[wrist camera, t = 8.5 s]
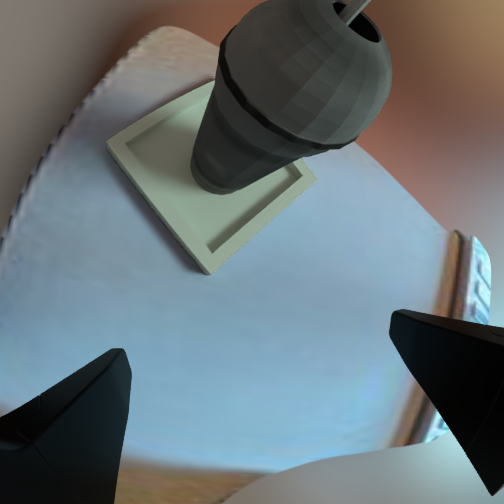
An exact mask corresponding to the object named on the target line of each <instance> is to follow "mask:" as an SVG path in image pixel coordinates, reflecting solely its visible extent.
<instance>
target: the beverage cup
mask: <svg viewBox="0 0 504 504" xmlns="http://www.w3.org/2000/svg"><path fill="white" fill-rule="evenodd" d="M370 1H371V0H351V1H350V2H349V3H348V2H346V1H344V0H268V1H265V2H263V3H261V4H259V5H258V6H256V7H254V8H253V9H251V10H250V11H249V12H248V13H247V14H246V15H245V16H244V17H243V18H242V19H241V21H240V22H239V23H238V24H237V25H235V26H234V27H233V28H232V29H231V30H230V32H229V33H228V34H227V35H226V37H225V38H224V39H223V41H222V42H221V43H220V50H219V58H218V65H217V70H216V76H215V84H214V87H213V90H212V92H211V95H210V98H209V101H208V104H207V107H206V110H205V112H204V115H203V118H202V121H201V124H200V127H199V131H198V134H197V137H196V140H195V143H194V146H193V152H192V157H191V162H190V168H191V172H192V176H193V178H194V179H195V181H196V182H197V184H198V185H199V186H201V187H202V188H203V189H204V190H206V191H208V192H210V193H212V194H217V195H227V194H232V193H234V192H235V191H237V190H241V189H243V188H245V187H247V186H248V185H250V184H252V183H254V182H256V181H258V180H260V179H261V178H263V177H265V176H267V175H269V174H271V173H273V172H275V171H277V170H278V169H280V168H282V167H284V166H286V165H288V164H290V163H292V162H294V161H296V160H298V159H300V158H302V157H310V156H313V155H316V154H320V153H323V152H326V151H328V150H330V149H340V148H342V147H344V146H346V145H348V144H350V143H352V142H353V141H355V140H356V139H357V137H358V136H359V135H360V133H361V132H362V131H364V130H365V129H366V128H367V127H368V126H369V125H370V124H371V123H372V122H373V121H374V120H375V118H376V117H377V115H378V113H379V112H380V110H381V108H382V107H383V105H384V103H385V102H386V100H387V98H388V95H389V92H390V89H391V81H392V62H391V56H390V53H389V49H388V47H387V44H386V41H385V39H384V37H383V35H382V34H381V32H380V31H379V29H378V28H377V26H376V25H375V24H374V23H373V22H372V20H371V19H370V18H369V17H368V16H367V15H366V14H365V13H363V12H362V11H361V10H362V9H363V8H364V7H365V6H366V5H367V4H368V3H369V2H370Z"/></svg>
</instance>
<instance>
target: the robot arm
mask: <svg viewBox="0 0 504 504" xmlns="http://www.w3.org/2000/svg"><path fill="white" fill-rule="evenodd" d="M389 336H390V339H391V340H392V342H393V344H394V346H395V347H396V349H397V351H398V352H399V354H400V356H401V358H402V359H403V361H404V363H405V365H406V366H407V368H408V369H409V371H410V372H411V374H412V375H413V376H414V378H415V379H416V381H417V382H418V383H419V385H420V386H421V388H422V389H423V391H424V392H425V393H426V395H427V396H428V398H429V399H430V401H431V402H432V403H433V405H434V406H435V408H436V409H437V411H438V412H439V414H440V415H441V417H442V418H443V420H444V421H445V423H446V424H447V426H448V427H449V429H450V430H451V432H452V433H453V435H454V436H455V438H456V439H457V441H458V442H459V444H460V445H461V447H462V449H463V450H464V452H466V455H467V457H468V458H469V460H470V462H471V463H472V465H473V466H474V468H475V470H476V471H477V473H478V474H479V476H480V478H481V480H482V481H483V483H484V485H485V486H486V488H487V490H488V492H489V493H490V494H491V496H494V495H495V494H496V493H497V492H498V491H499V490H500V489H502V488H503V487H504V328H502V327H496V326H490V325H484V324H479V323H473V322H468V321H463V320H457V319H452V318H447V317H442V316H436V315H431V314H426V313H421V312H416V311H411V310H406V309H400V310H396V311H394V312H393V313H392V315H391V322H390V329H389ZM131 380H132V372H131V368H130V365H129V362H128V358H127V355H126V352H125V350H124V349H122V348H113V349H110V350H109V351H107V352H106V353H104V354H102V355H101V356H99V357H98V358H96V359H95V360H93V361H91V362H90V363H88V364H87V365H85V366H84V367H82V368H81V369H79V370H77V371H76V372H74V373H73V374H71V375H70V376H68V377H66V378H65V379H63V380H62V381H60V382H59V383H57V384H56V385H54V386H52V387H51V388H49V389H48V390H46V391H45V392H43V393H41V394H40V395H38V396H37V397H35V398H33V399H32V400H30V401H29V402H27V403H25V404H24V405H22V406H20V407H19V408H17V409H15V410H13V411H11V412H9V413H8V414H6V415H4V416H2V417H0V504H114V500H115V492H116V485H117V477H118V471H119V464H120V458H121V452H122V446H123V441H124V435H125V430H126V425H127V420H128V414H129V402H130V390H131Z"/></svg>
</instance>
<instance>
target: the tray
mask: <svg viewBox="0 0 504 504" xmlns="http://www.w3.org/2000/svg"><path fill="white" fill-rule="evenodd" d="M214 84H215V80H214V81H211V82H209V83H207V84H205V85H203V86H201V87H199V88H197V89H195V90H193V91H191V92H189V93H187V94H185V95H183V96H181V97H179V98H177V99H175V100H173V101H171V102H169V103H168V104H166V105H164V106H162V107H160V108H158V109H157V110H155V111H153V112H151V113H150V114H148V115H146V116H145V117H143V118H141V119H140V120H138V121H136V122H135V123H133V124H131V125H130V126H128V127H127V128H125V129H123V130H122V131H120V132H119V133H117V134H116V135H114V136H113V137H111V138H110V139H108V140H107V141H106V147H107V150H108V151H109V153H110V154H111V155H112V157H113V158H114V160H115V161H116V162H117V164H118V165H119V166H120V168H121V169H122V170H123V172H124V173H125V174H126V176H127V177H128V178H129V180H130V181H131V182H132V184H133V185H134V186H135V187H136V189H137V190H138V191H139V193H140V194H141V195H142V197H143V198H144V199H145V200H146V202H147V203H148V204H149V206H150V207H151V208H152V209H153V211H154V212H155V213H156V214H157V216H158V217H159V218H160V219H161V221H162V222H163V223H164V224H165V226H166V227H167V228H168V229H169V231H170V232H171V233H172V234H173V236H174V237H175V238H176V239H177V241H178V242H179V243H180V244H181V245H182V247H183V248H184V249H185V250H186V252H187V253H188V254H189V255H190V256H191V258H192V259H193V260H194V261H195V262H196V264H197V265H198V266H199V267H200V268H201V270H202V271H203V272H204V273H205V274H206V275H211V274H213V273H214V272H215V271H216V270H217V269H218V268H219V267H220V266H221V265H223V264H224V263H225V262H226V261H227V260H228V259H229V258H230V257H231V256H232V255H234V254H235V253H236V252H237V251H238V250H239V249H240V248H241V247H242V246H244V245H245V244H246V243H247V242H248V241H249V240H250V239H251V238H252V237H254V236H255V235H256V234H257V233H258V232H259V231H260V230H261V229H262V228H264V227H265V226H266V225H267V224H268V223H269V222H270V221H271V220H273V219H274V218H275V217H276V216H277V215H278V214H279V213H280V212H282V211H283V210H284V209H285V208H286V207H287V206H288V205H289V204H290V203H292V202H293V201H294V200H295V199H296V198H297V197H298V196H299V195H301V194H302V193H303V192H304V191H305V190H306V189H307V188H308V187H310V186H311V185H312V184H313V183H314V182H315V181H316V180H317V178H316V177H315V175H314V174H313V173H312V171H311V170H310V169H309V167H308V166H307V165H306V163H305V162H304V161H303V160H302V158H300V159H298V160H296V161H294V162H292V163H290V164H288V165H286V166H284V167H282V168H280V169H278V170H277V171H275V172H273V173H271V174H269V175H267V176H265V177H263V178H261V179H260V180H258V181H256V182H254V183H252V184H250V185H248V186H247V187H245V188H243V189H241V190H237V191H235V192H234V193H232V194H227V195H217V194H212V193H210V192H208V191H206V190H204V189H203V188H202V187H201V186H199V185H198V184H197V182H196V181H195V179H194V178H193V176H192V172H191V168H190V162H191V157H192V152H193V146H194V143H195V140H196V137H197V134H198V131H199V127H200V124H201V121H202V118H203V115H204V112H205V110H206V107H207V104H208V101H209V98H210V95H211V92H212V90H213V87H214Z"/></svg>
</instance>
